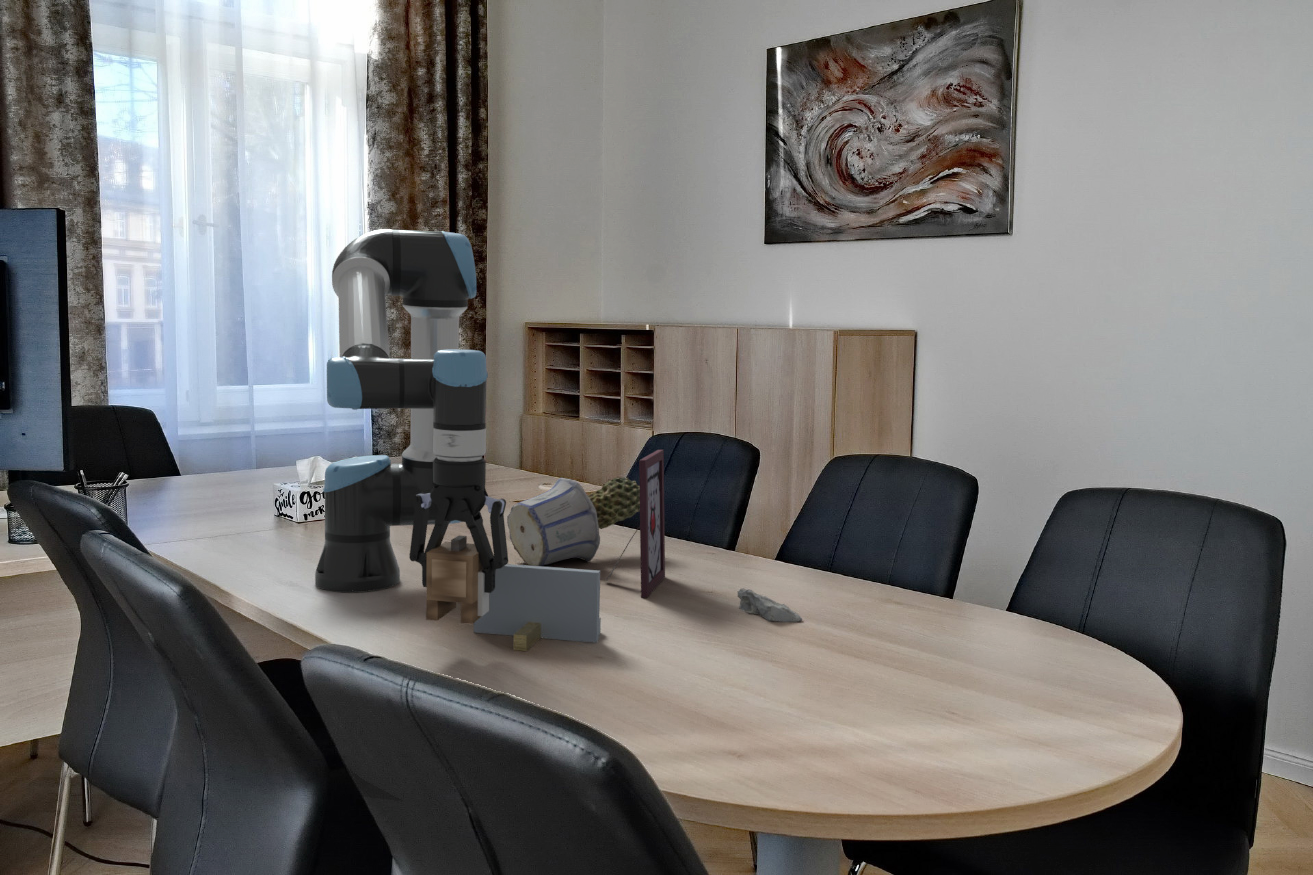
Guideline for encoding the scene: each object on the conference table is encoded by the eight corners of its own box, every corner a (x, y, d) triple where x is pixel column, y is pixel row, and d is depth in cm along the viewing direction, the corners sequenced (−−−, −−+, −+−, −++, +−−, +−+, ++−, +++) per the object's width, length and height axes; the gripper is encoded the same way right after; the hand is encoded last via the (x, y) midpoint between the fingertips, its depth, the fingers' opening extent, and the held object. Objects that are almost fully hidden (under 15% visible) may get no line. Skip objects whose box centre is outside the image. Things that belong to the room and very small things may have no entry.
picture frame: (647, 598, 192) (650, 460, 190) (594, 594, 194) (596, 457, 192) (665, 577, 209) (668, 449, 206) (616, 573, 211) (618, 447, 208)
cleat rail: (513, 650, 160) (513, 634, 160) (528, 636, 167) (528, 622, 167) (526, 651, 160) (526, 635, 160) (540, 638, 167) (540, 623, 167)
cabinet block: (425, 620, 155) (426, 541, 153) (445, 606, 162) (445, 531, 160) (471, 624, 153) (472, 545, 152) (489, 610, 160) (490, 534, 159)
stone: (764, 606, 191) (764, 583, 190) (805, 621, 180) (806, 597, 180) (734, 610, 188) (734, 587, 187) (774, 626, 177) (774, 602, 176)
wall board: (473, 632, 169) (474, 564, 168) (486, 622, 174) (486, 556, 173) (596, 642, 165) (597, 572, 164) (605, 632, 170) (606, 565, 169)
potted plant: (538, 503, 205) (657, 456, 222) (491, 494, 218) (606, 451, 236) (558, 588, 208) (673, 535, 226) (510, 574, 222) (622, 525, 240)
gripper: (383, 456, 153) (384, 612, 156) (516, 465, 149) (514, 624, 152) (406, 449, 160) (406, 598, 163) (533, 457, 156) (531, 609, 159)
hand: (458, 610), depth 158 cm, fingers closed on cabinet block, 7 cm apart
